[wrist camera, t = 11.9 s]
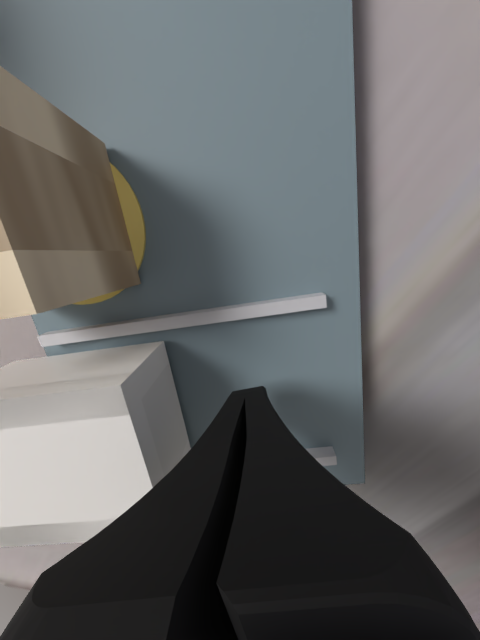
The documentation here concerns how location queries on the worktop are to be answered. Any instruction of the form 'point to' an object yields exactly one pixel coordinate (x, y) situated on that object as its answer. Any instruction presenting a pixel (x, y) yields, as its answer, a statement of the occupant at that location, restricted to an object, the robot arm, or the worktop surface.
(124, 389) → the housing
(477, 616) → the worktop surface
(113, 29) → the board
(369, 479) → the worktop surface
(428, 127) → the worktop surface
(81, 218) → the collar
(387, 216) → the worktop surface
